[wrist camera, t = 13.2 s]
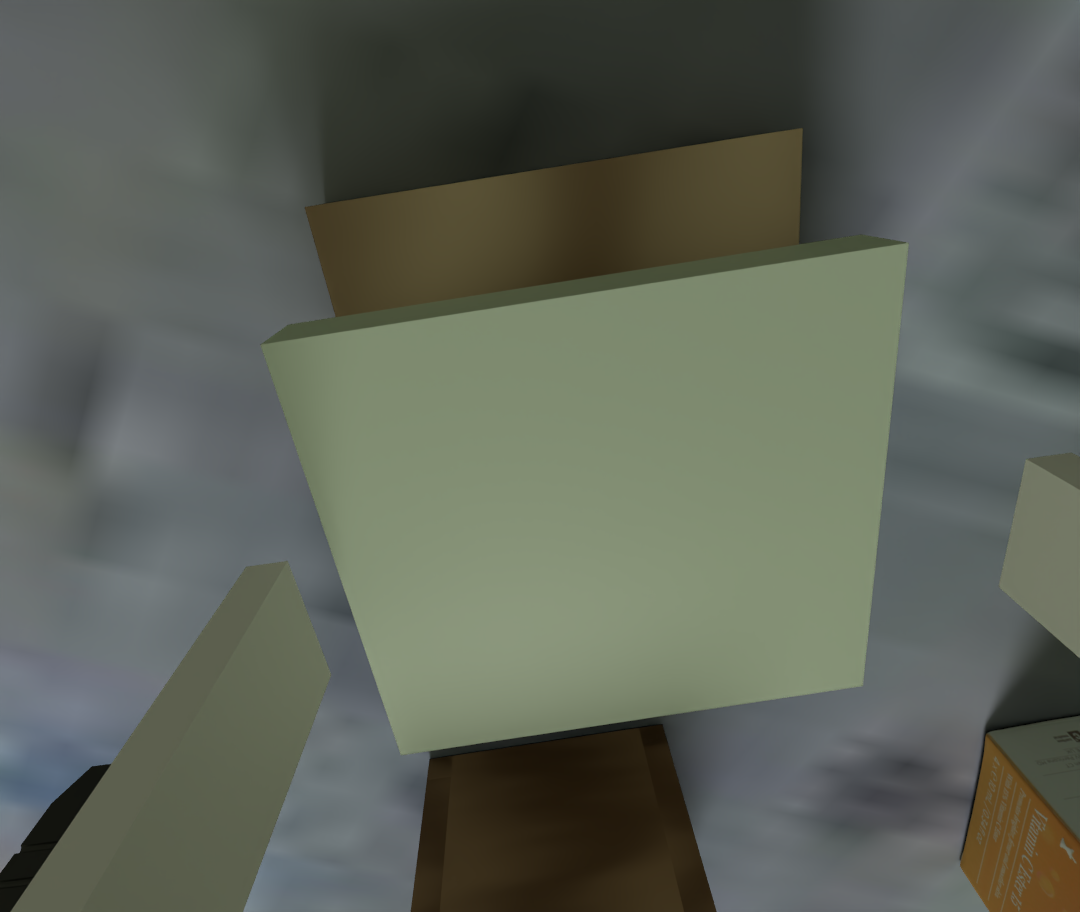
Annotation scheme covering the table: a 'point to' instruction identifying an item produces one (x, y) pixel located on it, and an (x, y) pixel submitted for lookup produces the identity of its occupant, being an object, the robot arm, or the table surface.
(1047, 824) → the small box
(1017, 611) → the table surface
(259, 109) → the table surface
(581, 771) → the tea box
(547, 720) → the lid
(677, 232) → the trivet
